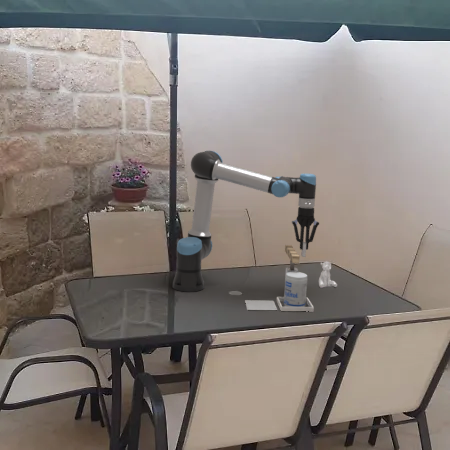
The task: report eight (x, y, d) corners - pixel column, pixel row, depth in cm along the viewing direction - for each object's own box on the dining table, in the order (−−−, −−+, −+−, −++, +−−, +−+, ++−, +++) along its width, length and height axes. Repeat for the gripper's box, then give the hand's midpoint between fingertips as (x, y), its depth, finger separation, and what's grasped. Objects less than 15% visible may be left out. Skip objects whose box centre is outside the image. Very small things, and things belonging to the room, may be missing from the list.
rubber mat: (247, 310, 258) (247, 309, 258) (244, 301, 270) (244, 300, 270) (277, 310, 258) (277, 310, 258) (273, 301, 271) (273, 300, 271)
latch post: (285, 299, 274) (287, 270, 271) (284, 296, 279) (285, 267, 276) (296, 300, 274) (298, 270, 272) (294, 296, 279) (296, 267, 276)
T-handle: (298, 273, 266) (299, 256, 264) (291, 273, 265) (292, 256, 264) (290, 260, 288) (291, 245, 286) (284, 260, 287) (285, 244, 286)
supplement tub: (281, 308, 262) (282, 275, 260) (286, 301, 271) (288, 270, 268) (302, 311, 259) (304, 278, 256) (307, 304, 268) (309, 273, 265)
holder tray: (280, 311, 258) (281, 307, 257) (276, 301, 272) (276, 296, 271) (313, 312, 259) (313, 307, 258) (307, 301, 273) (307, 297, 272)
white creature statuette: (320, 288, 294) (321, 264, 292) (312, 283, 302) (314, 260, 300) (337, 287, 297) (339, 263, 295) (329, 282, 305) (331, 259, 303)
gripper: (293, 207, 276) (291, 257, 280) (321, 208, 277) (318, 258, 281) (291, 205, 283) (288, 254, 288) (318, 206, 284) (315, 254, 288)
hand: (303, 256), depth 284 cm, fingers closed
